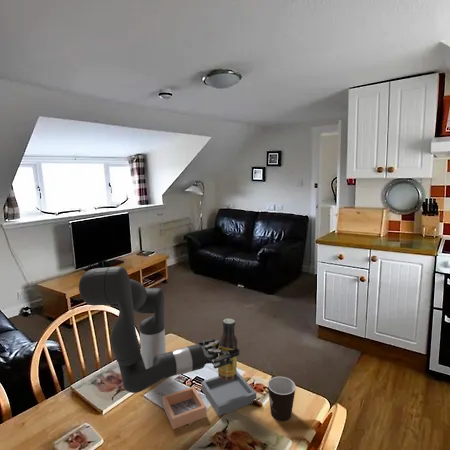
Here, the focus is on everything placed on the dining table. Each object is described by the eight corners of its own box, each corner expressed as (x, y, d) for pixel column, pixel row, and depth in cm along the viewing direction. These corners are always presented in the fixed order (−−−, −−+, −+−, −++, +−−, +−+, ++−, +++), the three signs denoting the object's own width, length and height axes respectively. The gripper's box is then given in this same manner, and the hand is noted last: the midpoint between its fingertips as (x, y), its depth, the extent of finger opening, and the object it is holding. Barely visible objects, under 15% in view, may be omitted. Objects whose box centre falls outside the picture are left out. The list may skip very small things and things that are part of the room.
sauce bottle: (215, 378, 108) (214, 322, 105) (222, 368, 114) (222, 315, 111) (233, 383, 106) (233, 326, 103) (239, 372, 111) (240, 318, 108)
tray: (201, 389, 114) (201, 381, 114) (236, 378, 120) (236, 370, 120) (218, 416, 102) (218, 407, 101) (256, 401, 108) (256, 393, 108)
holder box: (162, 406, 107) (162, 396, 106) (193, 395, 111) (193, 386, 111) (172, 429, 97) (172, 419, 96) (206, 416, 102) (206, 406, 101)
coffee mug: (295, 425, 98) (295, 396, 96) (266, 421, 99) (266, 392, 98) (294, 399, 109) (295, 372, 107) (268, 396, 111) (269, 369, 109)
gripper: (195, 359, 95) (244, 346, 102) (179, 338, 108) (224, 327, 115) (195, 383, 96) (244, 368, 103) (180, 359, 109) (224, 347, 116)
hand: (233, 346), depth 109 cm, fingers closed on sauce bottle, 6 cm apart
